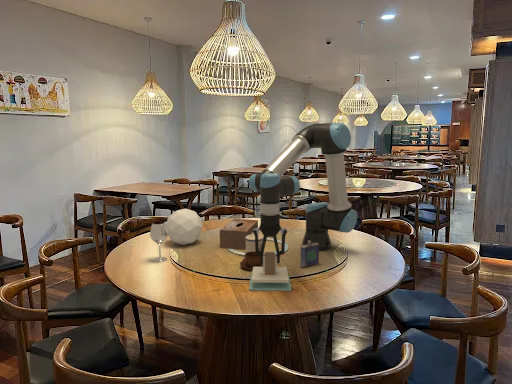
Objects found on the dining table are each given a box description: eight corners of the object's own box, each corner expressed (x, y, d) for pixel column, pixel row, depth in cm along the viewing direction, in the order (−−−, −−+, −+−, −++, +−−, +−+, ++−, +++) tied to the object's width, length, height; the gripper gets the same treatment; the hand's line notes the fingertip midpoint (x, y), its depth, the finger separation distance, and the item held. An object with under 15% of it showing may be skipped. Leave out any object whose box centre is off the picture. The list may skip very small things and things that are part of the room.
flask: (302, 268, 166) (303, 243, 164) (298, 266, 169) (298, 241, 167) (320, 264, 171) (320, 240, 169) (315, 262, 174) (316, 238, 172)
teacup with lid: (261, 258, 180) (261, 234, 178) (243, 257, 182) (242, 233, 180) (266, 250, 191) (266, 228, 189) (249, 249, 193) (249, 227, 191)
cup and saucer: (257, 274, 160) (257, 260, 159) (234, 268, 167) (234, 255, 166) (271, 265, 170) (271, 252, 169) (249, 261, 177) (249, 248, 176)
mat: (288, 275, 158) (288, 273, 158) (291, 290, 142) (291, 289, 142) (250, 275, 159) (250, 273, 159) (249, 290, 143) (249, 289, 143)
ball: (192, 252, 210) (212, 223, 213) (182, 250, 191) (204, 218, 193) (165, 234, 214) (185, 205, 217) (153, 230, 195) (175, 198, 197)
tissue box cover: (234, 235, 221) (233, 218, 220) (258, 236, 218) (257, 220, 217) (220, 248, 197) (219, 229, 195) (246, 250, 193) (246, 231, 192)
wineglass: (172, 257, 181) (170, 221, 178) (162, 263, 174) (161, 225, 171) (157, 256, 184) (156, 220, 181) (147, 261, 176) (145, 224, 173)
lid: (286, 269, 157) (286, 248, 156) (288, 282, 143) (288, 259, 142) (253, 269, 157) (252, 248, 156) (251, 282, 144) (251, 259, 142)
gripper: (291, 211, 150) (290, 267, 153) (248, 211, 150) (249, 267, 154) (292, 215, 142) (292, 274, 146) (247, 215, 143) (248, 274, 146)
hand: (269, 270), depth 150 cm, fingers closed on lid, 4 cm apart
